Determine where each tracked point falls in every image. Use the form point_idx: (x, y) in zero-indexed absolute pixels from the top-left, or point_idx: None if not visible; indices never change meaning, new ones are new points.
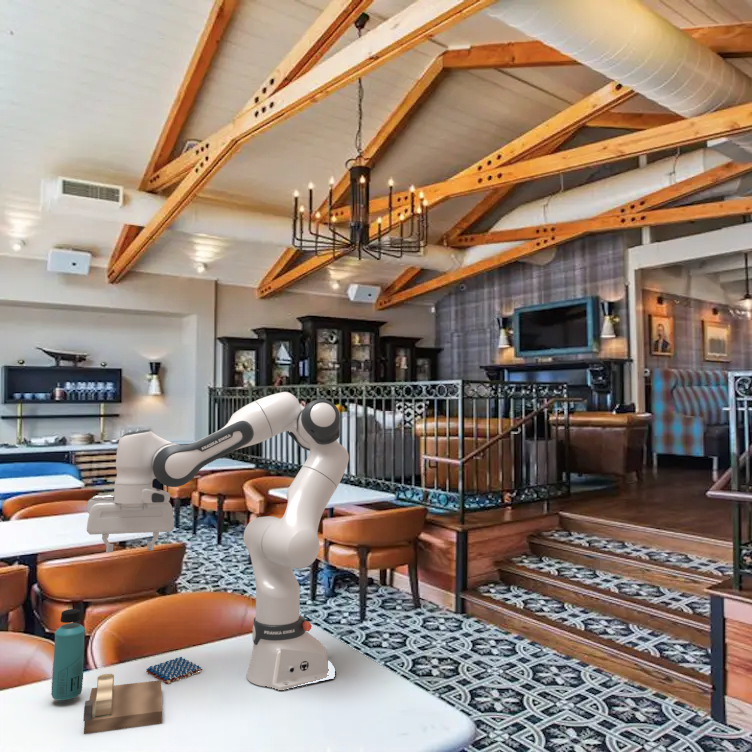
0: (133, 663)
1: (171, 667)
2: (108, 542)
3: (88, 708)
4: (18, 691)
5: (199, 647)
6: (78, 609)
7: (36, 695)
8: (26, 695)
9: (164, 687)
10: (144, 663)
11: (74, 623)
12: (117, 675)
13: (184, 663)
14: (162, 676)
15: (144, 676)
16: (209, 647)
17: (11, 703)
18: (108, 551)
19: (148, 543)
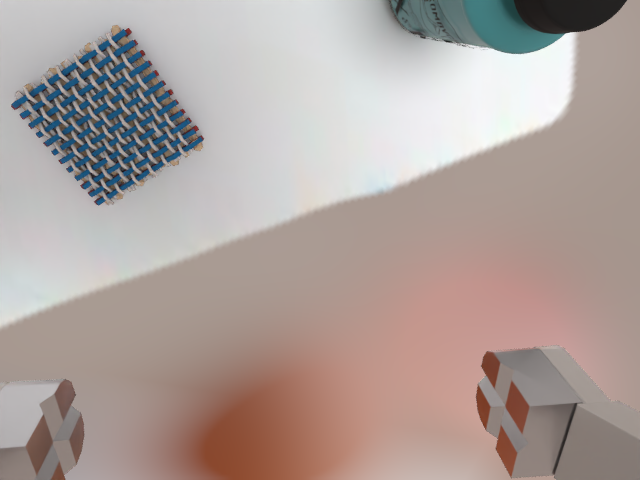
0: (250, 222)
1: (118, 125)
2: (596, 466)
3: None
4: (543, 102)
5: (61, 298)
6: (549, 1)
7: (501, 59)
8: (525, 67)
9: (129, 2)
10: (217, 215)
11: (521, 20)
12: (289, 144)
13: (79, 153)
14: (138, 53)
15: (206, 115)
16: (27, 293)
17: None
18: (536, 349)
19: (18, 467)
